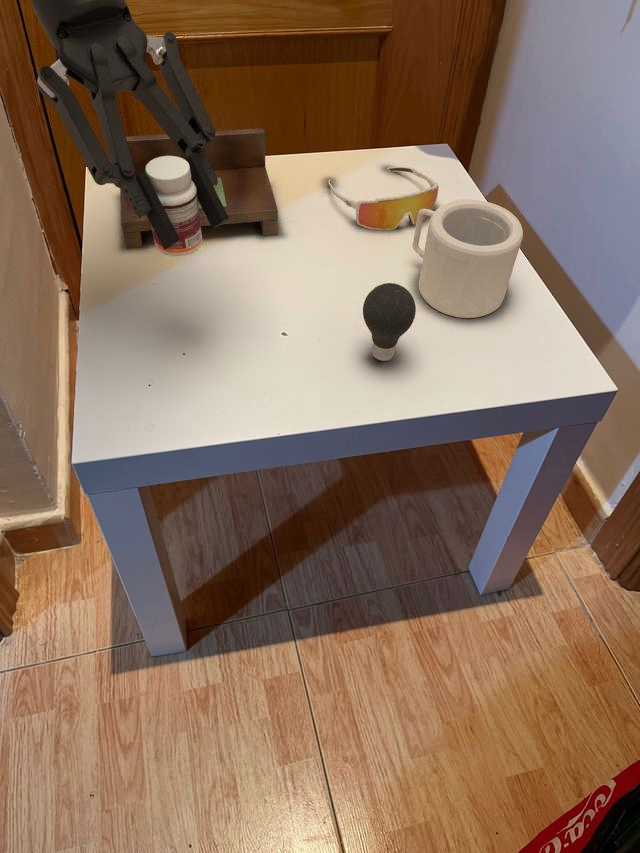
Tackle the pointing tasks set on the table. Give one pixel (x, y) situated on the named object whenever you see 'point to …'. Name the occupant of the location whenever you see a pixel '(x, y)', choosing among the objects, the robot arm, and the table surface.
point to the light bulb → (388, 317)
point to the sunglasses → (393, 205)
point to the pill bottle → (177, 203)
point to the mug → (467, 256)
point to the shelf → (236, 172)
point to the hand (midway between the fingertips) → (196, 233)
